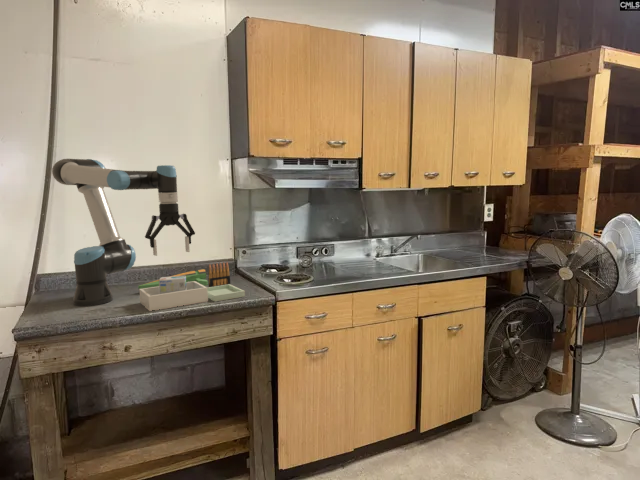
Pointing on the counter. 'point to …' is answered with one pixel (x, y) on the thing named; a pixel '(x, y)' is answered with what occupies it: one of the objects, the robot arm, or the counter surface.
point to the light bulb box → (172, 284)
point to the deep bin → (173, 296)
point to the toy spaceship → (190, 277)
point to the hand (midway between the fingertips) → (171, 253)
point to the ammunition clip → (219, 275)
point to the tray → (224, 292)
